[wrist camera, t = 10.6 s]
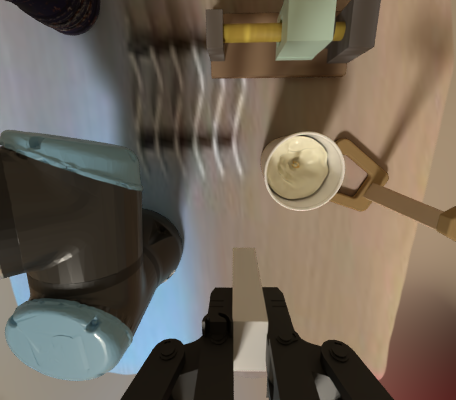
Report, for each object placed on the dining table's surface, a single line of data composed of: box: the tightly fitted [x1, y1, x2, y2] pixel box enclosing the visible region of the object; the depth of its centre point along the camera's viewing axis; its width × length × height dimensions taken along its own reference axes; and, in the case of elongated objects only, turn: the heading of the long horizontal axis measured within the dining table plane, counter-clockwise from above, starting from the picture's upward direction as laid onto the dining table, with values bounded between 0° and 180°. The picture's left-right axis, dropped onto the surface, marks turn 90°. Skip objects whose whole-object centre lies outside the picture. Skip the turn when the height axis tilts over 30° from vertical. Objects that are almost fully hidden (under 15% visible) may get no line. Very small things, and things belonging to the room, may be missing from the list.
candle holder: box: [260, 131, 345, 211], centre depth 35 cm, size 10×10×12 cm
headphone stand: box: [329, 138, 456, 242], centre depth 31 cm, size 10×11×22 cm
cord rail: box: [206, 0, 381, 79], centre depth 32 cm, size 20×8×8 cm, turn 90°
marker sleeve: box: [276, 0, 337, 61], centre depth 29 cm, size 5×5×7 cm
